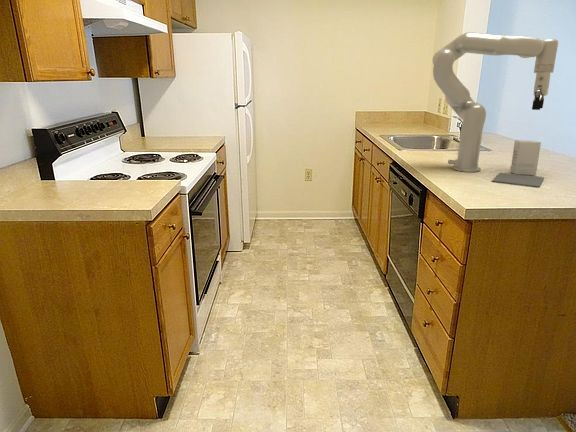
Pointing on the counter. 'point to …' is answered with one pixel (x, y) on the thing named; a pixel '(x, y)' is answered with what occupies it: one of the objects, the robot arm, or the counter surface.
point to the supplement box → (525, 157)
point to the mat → (518, 179)
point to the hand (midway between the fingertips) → (537, 108)
